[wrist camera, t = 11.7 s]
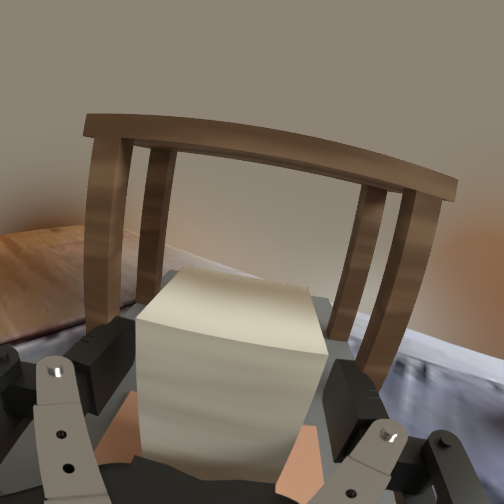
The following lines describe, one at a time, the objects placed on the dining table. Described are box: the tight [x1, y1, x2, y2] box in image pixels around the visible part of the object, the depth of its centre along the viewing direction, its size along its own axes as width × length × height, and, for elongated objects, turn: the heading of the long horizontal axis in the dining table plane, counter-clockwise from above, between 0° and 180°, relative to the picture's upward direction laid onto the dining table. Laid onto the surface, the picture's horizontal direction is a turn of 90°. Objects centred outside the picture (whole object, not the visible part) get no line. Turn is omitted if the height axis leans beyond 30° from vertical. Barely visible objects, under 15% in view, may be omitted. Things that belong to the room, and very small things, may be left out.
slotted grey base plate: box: [0, 270, 396, 504], centre depth 24 cm, size 36×22×3 cm, turn 176°
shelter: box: [83, 114, 458, 393], centre depth 24 cm, size 12×24×17 cm, turn 86°
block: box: [136, 265, 329, 484], centre depth 11 cm, size 5×5×10 cm
